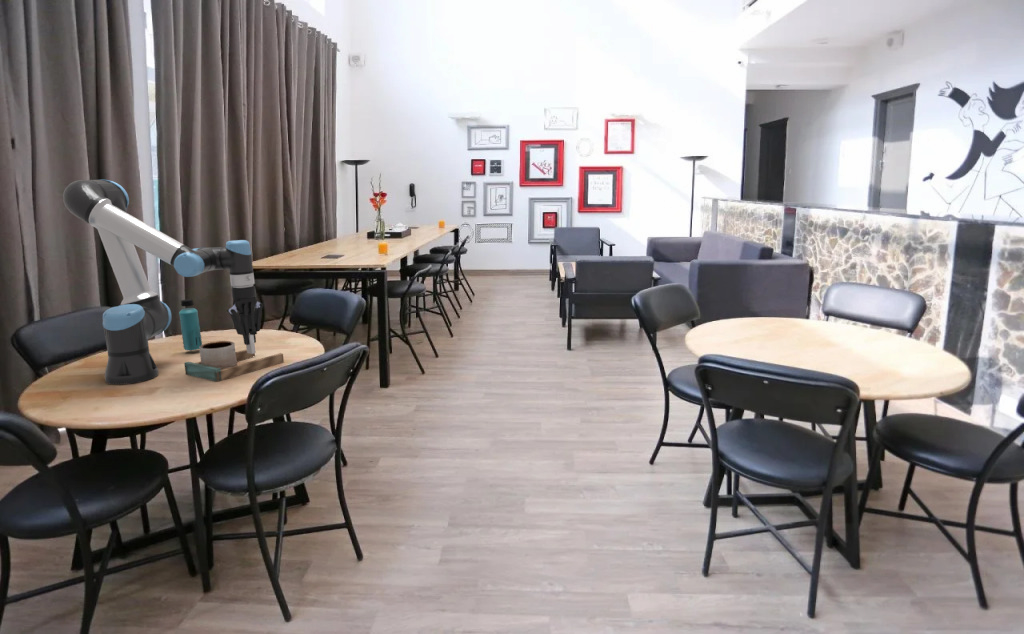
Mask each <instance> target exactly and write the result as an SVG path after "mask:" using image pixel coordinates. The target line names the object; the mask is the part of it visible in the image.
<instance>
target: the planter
mask: <svg viewBox="0 0 1024 634" xmlns="http://www.w3.org/2000/svg"><path fill="white" fill-rule="evenodd" d="M198 350H199V356H200V361H201V364H202V365H207V366H211V367H216V368H220V370H222V369H226V368H230V367H233V366H237V365H238V361H237V360H236V352H237V351H236V345H235V341H234V342H233V341H231V340H230V341H229V340H221V341H220V340H219V341H217V340H216V341H211V342H206V343H202V345H201V346H200V347H199V349H198Z"/></svg>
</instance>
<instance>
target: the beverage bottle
mask: <svg viewBox="0 0 1024 634" xmlns="http://www.w3.org/2000/svg"><path fill="white" fill-rule="evenodd" d="M180 303H181V304H180V305H181V307H184V308H182V309H181V310H180V311H179V312H178V314H179V320H180V327H181V328H180V329H181V330H180V331H181V332H180V333H181V339H182V344H183V346H182V347H183V349H184V350H185V351H196V350H200V349H199V347H200V346H201V345H203V341H202V339H203V338H202V335H201V334H202V333H201V328H200V327H201V325H200V319H199V313H198V312H199V311H198V309H196V308H194V307H192V306H194V305H195V304H194V300H193V299H191V298H190V299H183V300H181V301H180Z"/></svg>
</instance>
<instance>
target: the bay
mask: <svg viewBox="0 0 1024 634" xmlns="http://www.w3.org/2000/svg"><path fill="white" fill-rule="evenodd" d="M235 352H236V360H237V362H240V361H244V360H248V359H251V358H254V357H253V356H255V357H256V353H254V354H250V353H247V348H246V349H243V350H239V351H235ZM250 357H251V358H250ZM247 358H248V359H247ZM243 359H244V360H243ZM284 360H285V359H284V353H281V352H280V353H276V354H272V355H269V356H265V357H262V358H258V359H255V360H251V361H247V362H243V363H241V364H237V366H233V367H230V368H226V369H222V370H220V368H216V367H211V366H207V365H202V364H201V360H200V361H197V362H192V361H185V362H184V363H183V365H184V371H185V375H187V376H191V377H196V378H200V379H204V380H209V381H213V382H217V383H218V382H222V381H225V380H228V379H230V378H235V377H238V376H241V375H244V374H249V373H251V372H252V373H253V372H255V371H258V370H261V369H264V368H268V367H271V366H274V365H278V364H282V363H284Z"/></svg>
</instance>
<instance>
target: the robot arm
mask: <svg viewBox="0 0 1024 634" xmlns="http://www.w3.org/2000/svg"><path fill="white" fill-rule="evenodd" d="M62 201H63V204H64V207H65V208H66V209H67V210H68V212H69V213H70V214H72V215H73V216H75V217H76V218H77V219H79V220H82V221H83V222H85V223H86V224H89V225H90V226H91V227H93V228H95V229H96V230H97V232H98V234H99V237H100V240H101V242H102V245H103V248H104V250H105V253H106V255H107V258H108V261H109V263H110V266H111V268H112V271H113V274H114V277H115V279H116V281H117V284H118V287H119V289H120V292H121V294H122V298H123V299H122V300H121V303H120V305H118V306H112V307H110V308H108V309H106V310H105V311H104V312H103V313H102V327H103V331H104V338H105V343H106V344H105V345H106V350H107V351H106V352H107V363H106V367H105V373H104V381H105V383H106V384H110V385H128V384H136V383H141V382H146V381H148V380H152V379H154V378H155V377H157V376H158V375H159V368H158V366H157V363H156V362H155V360H154V358H153V357H152V354H151V353H150V348H149V346H150V345H149V339H151V338H152V337H155V336H159V335H160V334H162V333H163V332H165V331H166V330H167V329H168V328H169V326H170V325H171V323H172V311H171V308H170V307H169V306H168V305H167V303H165V302H163V301H162V300H161V299H160V296H159V294H158V293H157V292H154V291H152V289H151V285H150V283H149V281H148V277H147V275H146V273H145V270H144V268H143V266H142V263H141V259H140V256H139V253H138V252H137V249H136V247H138V248H139V249H142V250H143V251H145V252H147V253H148V254H150V255H151V256H154V257H156V258H157V259H160V260H161V261H163V262H164V263H166V264H169V265H171V266H173V268H174V270H175V271H176V273H177V274H178V275H180V276H182V277H185V278H189V277H190V278H191V277H196V276H199V275H201V274H203V273H207V272H210V271H218V270H228V271H229V279H230V286H231V294H232V298H233V303H232V307H230V308H227V310H226V311H227V313H228V314H229V315H230V318H231V321H232V324H233V325H234V329H235V331H236V334H237V335H240V336H242V338H243V344H244V345H245V346H246V349H247V353H250V354H254V353H255V354H256V353H257V352H256V351H257V350H256V343H257V339H256V338H257V337H256V335H257V334H258V332H260V331H261V323H262V311H263V307H264V305H265V304H264V303H262V302H259V301H258V299H257V297H256V296H257V290H256V286H255V275H254V267H253V265H254V264H253V257H252V255H253V253H252V250H251V244H250V241H248V240H246V239H239V240H238V239H237V240H236V239H235V240H234V239H233V240H229V241H228V240H227V241H226V243H225V246H219V247H218V246H217V247H198V248H195V247H194V248H191V247H188V246H187V245H185V244H183V243H181V242H180V241H178V240H176V239H175V238H173V237H171V236H169V235H168V234H166V233H165V232H162V231H160V230H159V229H157V228H155V227H153V226H151V225H149V224H148V223H145V222H144V221H142V220H140V219H139V218H136V217H135V216H133V215H132V214H129V213H128V210H127V209H128V206H129V204H130V199H129V194H128V192H127V191H126V189H125V188H124V187H123V186H122V185H121V184H119V183H117V182H115V181H113V180H108V179H78V180H74V181H73V182H71V183H69V184H68V185H67V186H66V187H65V189H64V191H63V194H62Z"/></svg>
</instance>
